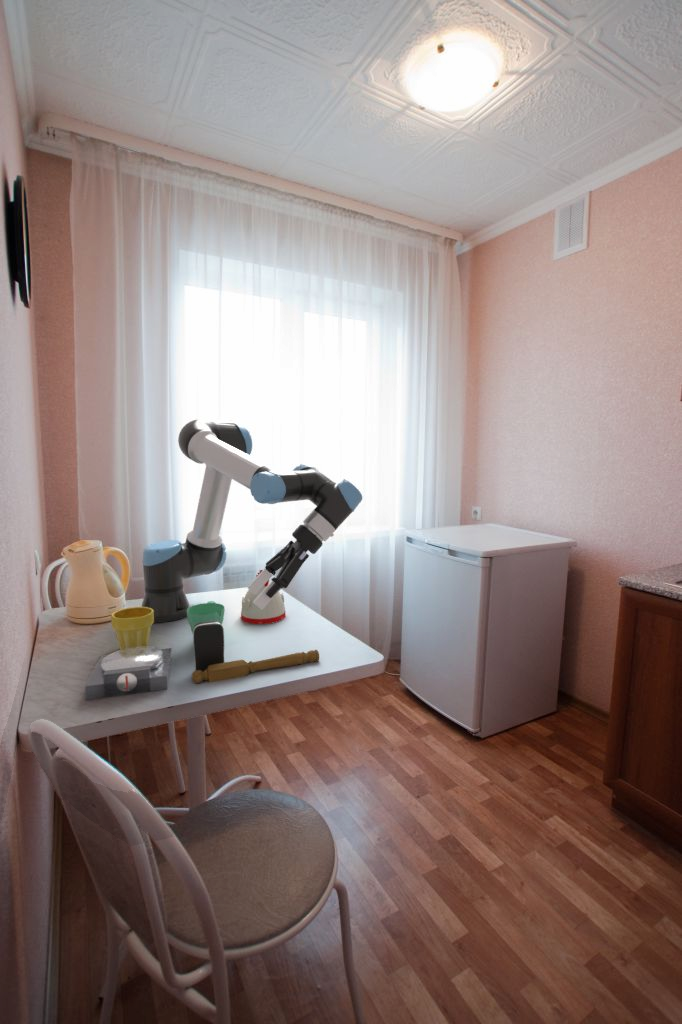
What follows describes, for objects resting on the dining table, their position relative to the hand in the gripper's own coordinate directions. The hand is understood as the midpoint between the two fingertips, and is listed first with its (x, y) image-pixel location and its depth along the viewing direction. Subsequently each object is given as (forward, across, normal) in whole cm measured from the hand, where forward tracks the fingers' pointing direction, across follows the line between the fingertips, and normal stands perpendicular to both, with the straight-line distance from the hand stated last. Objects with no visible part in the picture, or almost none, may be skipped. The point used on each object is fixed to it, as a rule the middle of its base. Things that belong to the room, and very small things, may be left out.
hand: (254, 598), depth 115 cm
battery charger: (+19, 0, -4) cm, 20 cm away
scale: (+31, 0, +9) cm, 32 cm away
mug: (+19, +18, -4) cm, 27 cm away
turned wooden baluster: (+12, -5, -12) cm, 17 cm away
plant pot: (+32, +19, +10) cm, 39 cm away
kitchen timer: (+7, +34, -16) cm, 38 cm away
